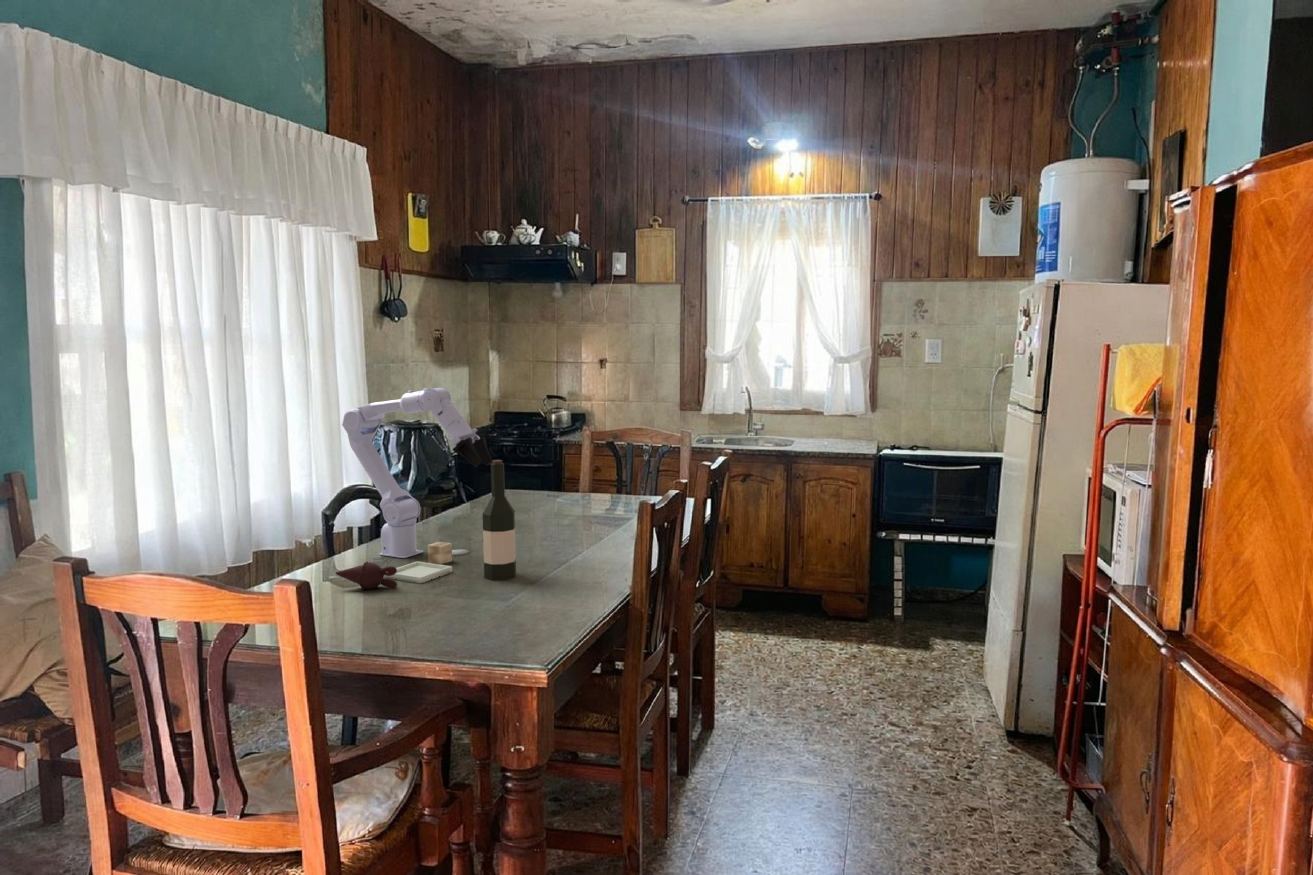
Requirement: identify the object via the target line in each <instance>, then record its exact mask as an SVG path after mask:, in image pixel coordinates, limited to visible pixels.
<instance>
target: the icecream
mask: <svg viewBox="0 0 1313 875" xmlns="http://www.w3.org/2000/svg"><path fill="white" fill-rule="evenodd" d="M396 568H397V567H396V566H393V565H392V566H391V565H390V566H386V567H381V566H380V565H378V564H377V563H374V562H371V561H370V562H369V561H368V560H367V561H365V562H364V563H362V565H361V564H360V565H358V566H354V567H350V568H345V569H343V570H339V571H336V572H335V575H336V576H339V577H341V578H343V579H346V580H348V581H350V582H353V583H355V584H357V585H359V586H360V589H361V591H363V590H364V589H367V590H369V589H376V588H377V587H379V586H380V585H382V586H383V587H386V588H388V587H395V588H397V586H398V582H397V580H395V579H388V578H384V575H386V576H391V575H394V574H395V573H396V572H397V569H396Z"/></svg>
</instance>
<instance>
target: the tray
mask: <svg viewBox="0 0 1313 875" xmlns="http://www.w3.org/2000/svg"><path fill="white" fill-rule="evenodd" d="M395 568H396V569H397V572H396V573H395V574H394V575H391V576H386V575H384V578H383V579H392V580H395V579H397V580H396V581H401V580H402V581H404V582H408V583H409V582H410V583H414V582H415V584H423V583H425V582H428V581H431V579H432V580H433V579H436V578H439V576H440V577H442V576H445V575H448V574H450V573H453V566H452V565H445V564H442V565H440V564H433V563H428V562H424V561H418V560H417V561H414V562H410V563H408V564H405V565H402V566H398V567H395Z"/></svg>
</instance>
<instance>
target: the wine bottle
mask: <svg viewBox="0 0 1313 875" xmlns="http://www.w3.org/2000/svg"><path fill="white" fill-rule="evenodd" d="M490 482H491V483H490V484H491V485H490V486H491V491H490V492H491V497H490V499H489V501H488V503H487V505H486V506H485V509H484V510H483V512H482V532H483V533H482V537H483V538H482V542H483V546H482V548H483V572H484V573H483V574H484V578H483V579H486V580H489V581H491V582H493V581H495V582H496V581H508V580H511V579H514V578H516V576H517V562H516V560H517V558H516V557H517V556H516V553H517V552H516V522H515V521H516V520H515V518H516V514H515V510H514V508H513V506H512V505H511V502H510V501H509V500H508V499H507V497H506V496H505V495H506V494H505V493H506V492H505V488H506V487H505V463H503V460H502V459H494V460H493V459H492V462H491V463H490Z"/></svg>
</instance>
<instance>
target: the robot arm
mask: <svg viewBox="0 0 1313 875" xmlns="http://www.w3.org/2000/svg"><path fill="white" fill-rule="evenodd" d="M451 399H452V398H451V394H450V391H448V390H447V389H446V388H443V387H436V388H429V387H425V388H422V390H418V391H415V390H414V389H411V390H407V392H405V393H404V394H403V395H402V396H401V397H400V398H399V399H392V400H386V401H385V400H384V401H378V402H371V403H368V404H364V405H360V406H357V407H356V408H350V409H347V410H346V411H345V413H344V416H343V418H342V424H341V425H342V427H343V429H344V430H345V432H346V433H347V438H348V441H349V446H350V448H351V449H352V451H353V452H354V455H355V456H356V458H357V459H358V461H359V463H360V464H361V466H362V467H363V469H364V471H365V472H366V473H367V475H368V477H369V478H370V480H371V482H372V483H373V485H374V486H375V488H376V490H377V491H378V493H379V495H380V497H381V501H380V503H379V507H380V509H381V511H382V515H383V516H382V517H383V519H384V520H385V521H386V523H384V525H383V526H382V528H381V530H380V544H381V546H380V548H381V550H380V551H381V552H379V555H380V556H385V557H392V558H400V559H406V558H409V557H410V558H411V557H412V556H416V555H419V554H422V553H424V550H421V549H418V548H417V524H416V523H417V518H419V516H420V515H421V505H420V502H419V501H418V500H417V499H416V498H414V497H413V496H412V495H411V493H410V492H409V491H407V490H405V489H402V487H400V486H399V484H398V482H397V481H396V479H395V477H394V475H393V474H392V473H391V471H390V470H389V468H388V466H387V465H386V464H385V462H384V460H383V458H382V457H381V455H380V453H379V452H378V451H377V449H376V447H375V446H374V444H373V439H374V437H375V436H376V433H377V432H378V430H379V428H380V426H381V424H382V421H383V419H385V417H386V414H390V413H393V412H399V411H403V412H405V413H406V414H409V415H410V414H416V413H417V414H418V413H422V412H428V411H430V412H431V413H432V414H433V415H434V416H435V417H436V419H437V420H438V422H439V423H440V424H441V426H442V427H443V429H444V430H445V431H446V433H447V435H449V436H450V440H449V441H450V442H451V444H452V445H453V446H455V447H453V448H452V452H454V453H456V454H458V455H459V456H461V457H463V459H465V460H467V462H469V463H470V464H471V466H473V467H475V468H476V467H478V466H479V465H480V464H481V463H483V465H485V466H486V467H487V466H489V465H491V464H492V461H493V458H492V456H491V454H490V451H489V448H488V444H487V439H486V437H484V436H482V437H480V436H479V435H477V434H476V432H478V428H472V427H471V426H470V425H469V424H468V423H467V421H466V420H465V418H464V416H462V414H461V413H460V411H459V410H458V409H457V407H456V406H455V405H454V404H453V402H452V401H451Z"/></svg>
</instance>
